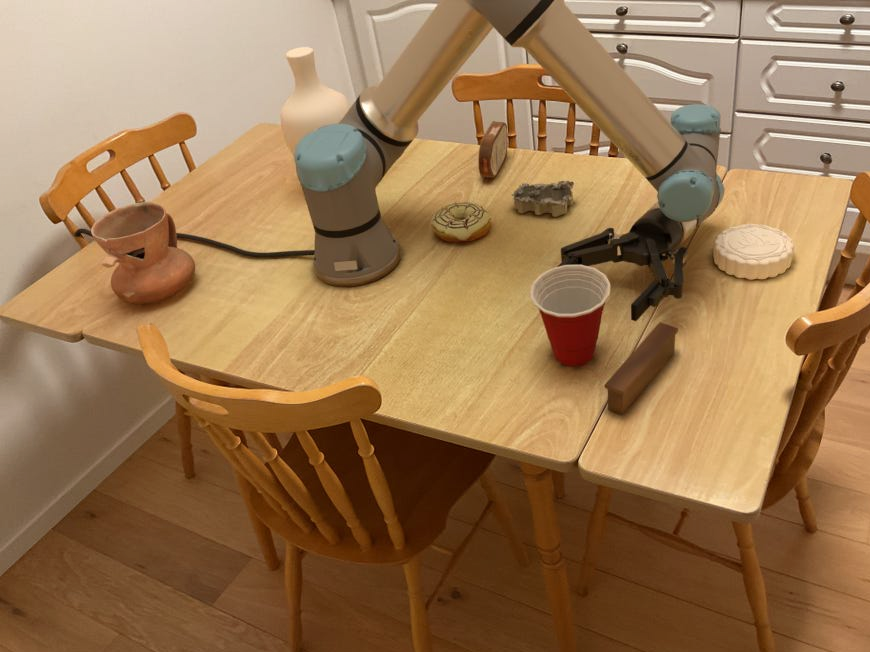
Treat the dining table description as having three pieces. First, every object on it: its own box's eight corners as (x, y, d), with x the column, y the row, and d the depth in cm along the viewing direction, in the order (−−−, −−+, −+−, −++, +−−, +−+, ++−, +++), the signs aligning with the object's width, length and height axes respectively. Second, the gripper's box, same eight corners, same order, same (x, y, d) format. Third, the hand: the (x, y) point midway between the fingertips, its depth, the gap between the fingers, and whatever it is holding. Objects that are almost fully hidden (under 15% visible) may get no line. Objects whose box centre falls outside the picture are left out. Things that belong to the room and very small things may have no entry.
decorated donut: (469, 251, 136) (467, 233, 134) (422, 238, 142) (418, 220, 139) (502, 223, 142) (499, 205, 140) (455, 211, 148) (452, 194, 145)
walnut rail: (605, 409, 102) (604, 384, 99) (659, 346, 110) (659, 321, 108) (623, 417, 101) (623, 391, 98) (677, 353, 109) (678, 327, 106)
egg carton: (577, 200, 146) (576, 180, 143) (562, 220, 141) (561, 200, 138) (526, 193, 150) (524, 174, 147) (509, 212, 145) (507, 192, 143)
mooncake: (777, 235, 128) (780, 216, 126) (802, 275, 119) (806, 256, 117) (704, 244, 129) (706, 225, 127) (724, 284, 120) (726, 265, 118)
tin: (497, 151, 166) (493, 114, 160) (511, 151, 165) (508, 113, 160) (479, 185, 155) (474, 146, 150) (494, 185, 154) (489, 146, 149)
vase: (288, 190, 164) (246, 57, 146) (342, 164, 170) (309, 33, 152) (325, 210, 155) (286, 70, 137) (382, 181, 161) (351, 44, 144)
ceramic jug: (166, 320, 131) (132, 248, 122) (97, 313, 135) (60, 243, 126) (222, 261, 144) (195, 193, 135) (157, 257, 148) (127, 190, 139)
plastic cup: (526, 373, 110) (518, 304, 102) (549, 327, 117) (544, 260, 109) (600, 385, 106) (598, 315, 98) (620, 337, 113) (619, 268, 105)
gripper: (735, 269, 118) (670, 346, 106) (594, 231, 131) (522, 296, 119) (740, 226, 113) (672, 302, 101) (593, 191, 126) (517, 254, 114)
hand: (590, 299), depth 110 cm, fingers open, 13 cm apart
